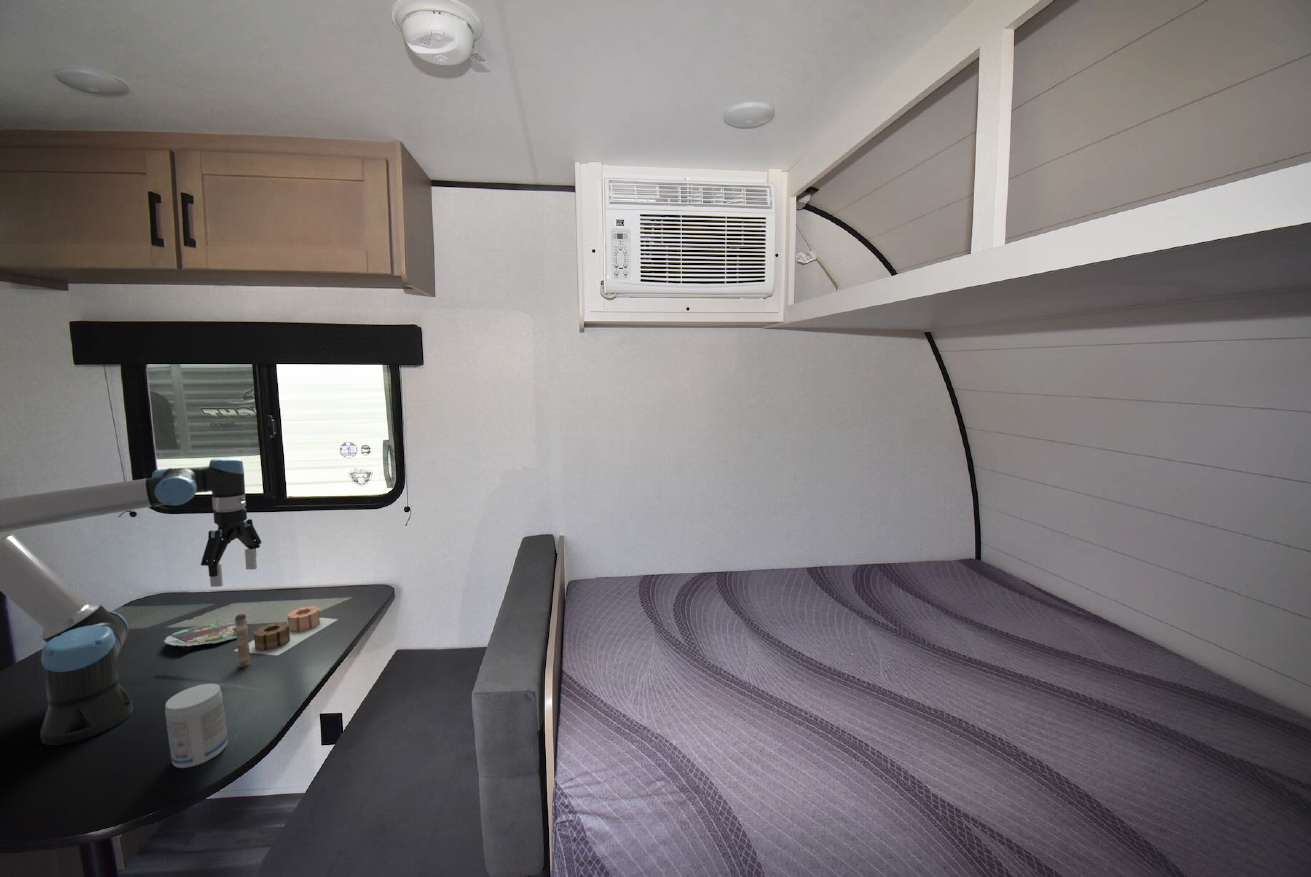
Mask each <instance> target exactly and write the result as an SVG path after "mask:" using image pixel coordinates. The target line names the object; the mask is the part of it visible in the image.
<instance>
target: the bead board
mask: <svg viewBox="0 0 1311 877" xmlns="http://www.w3.org/2000/svg"><path fill="white" fill-rule="evenodd" d="M319 619H320V624H319V625H317V626H316V627H314V628H309V630H305V631H301V632H300V631H298V632H291V631H289V634H290V641H288V643H286V644H285V645H283V646H281V647H280V646H278V648H275V649H271V650H267V649H266V650H265V651H260V650H256V649H255V640H254V639H253V640H251V641H250V642H249V652H250V654H259V655H268V656H280V655H281V654H283V653H285V652H286V651H288V650H289V649H291V648H293V647H294V646H296V645H298V644H299V643H301V642H303V641H305V640H307V639H308V638H309V637H311V636H313V635H315V634H316V633H318V632H319V631H321V630H323V629H325V628H326V627H328V626H330V625H331V624H333V623H335V622H337V621H338V620H339V619H338V618H330V617H329V618H327V617H319ZM286 623H288V621H286ZM233 652H238V648H236V649H234V650H233Z"/></svg>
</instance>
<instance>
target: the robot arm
mask: <svg viewBox="0 0 1311 877" xmlns="http://www.w3.org/2000/svg"><path fill="white" fill-rule="evenodd" d="M244 471H245V469H244V463H243V460H242V459H241V458H239V457H221V458H213V459H210V460H209V464H208V465H206V466H205V465H204V466H196V467H195V466H194V467H178V468H177V467H175V468H172V467H168V468H163V469H156V470H154V471H153V472H152V473H151V474H152V475H151V477H150V478H143V479H141V478H140V479H135V480H134V479H133V480H127V481H120V482H112V483H106V484H105V483H104V484H98V485H91V486H85V487H76V488H75V487H74V488H69V489H62V490H56V491H55V490H54V491H48V492H47V491H46V492H43V493H42V492H41V493H39V492H38V493H33V494H32V493H31V494H26V495H20V496H13V497H5V498H0V592H1V593H2V594H3V595H5V597H7V598H8V599H9V600H10V601H11V602H13V604H15V605H16V606H17V607H19V609H20V610H22V611H23V612H24V613H25V614H27V616H29V617H30V618H31V619H32V620H34V621H35V622H36V623H37V624H38V625H39V626H41V627H42V628H43V630H42V633H41V637H40V638H41V639H42V641H44V642H45V644H44V645H43V647H42V651H41V657H40V662H41V666H42V668H43V669H42V670H43V676H44V685H45V690H46V698H47V705H48V706H47V707H48V708H47V710H46V712H45V717H44V719H43V722H42V725H41V728H40V732H39V734H40V741H41V744H43V745H46V746H61V745H62V746H63V745H68V744H73V743H76V742H80V741H83V740H86V739H89V738H92V737H94V736H97V735H99V734H102V733H104V732H106V731H108V730H110V729H112V728H114V727H115V726H116V727H117V726H118V725H119V724H120V723H122V722H123V721H125V720H127V718H128V717H130V716H131V714H132V713H133V710H134V706H133V701H132V699H131V697H130V696H129V695H128V693H127V692H126V691H125V689H124V688H123V687H122V685H121V683H120V675H119V668H118V667H119V666H118V656H119V653H120V652H121V649H122V647H123V645H124V643H125V642H126V641H127V637H128V634H129V626H128V623H127V620H126V619H125V617H124V616H123V615H121V614H119V613H118V612H115V611H112V610H107V609H106V608H105V607H104V606H103V605H102V604H101V603H99V602H97V603H95V602H94V603H93V602H91V603H89V602H87V601H86V600H85V599H84V598H82V597H81V596H80V594H78V593H77V592H76V591H75V590H74V589H73V588H72V587H71V586H70V585H68V584H67V583H66V581H64V580H63V579H62V578H61V577H60V576H59V575H57V573H55V571H54V570H52V568H50V567H49V566H48V565H47V564H46V563H44V561H43V560H41V558H39V556H37V554H35V553H34V552H33V551H32V550H31V549H29V547H27V546H26V545H25V543H23V542H22V541H21V540H20V539H19V538H18V537H17V536H16V535H14V533H13V532H14V530H15V531H16V530H21V529H26V528H27V529H28V528H34V527H38V526H39V527H40V526H45V525H51V524H56V523H57V524H58V523H63V522H68V521H70V522H71V521H75V520H81V519H87V518H91V517H92V518H93V517H97V516H98V517H99V516H105V515H110V514H116V513H123V512H127V511H129V512H130V511H134V510H140V509H145V508H146V509H147V508H151V507H159V506H165V505H167V506H180V505H184V504H186V503H188V502H189V501H190V500H192V499H193V498H194V496H195V495H196V494H198V493H208V492H211V499H212V501H211V502H212V510H213V523H214V524H215V525H217V530H208V534H207V535H208V538H207V543H206V546H205V547H204V548H205V549H204V552H203V555H202V558H201V562H200V566H202V567H203V566H205V567H207V568H208V576H209V582H210V587H212V588H213V587H214V588H215V587H217V588H218V587H219V588H220V587H223V586H224V585H223V584H224V583H223V571H222V564H221V563H220V562H221V559H222V557H223V555H224V553H225V551H226V549H227V547H228V545H229V544H231V543H232V541H234V540H236V539H238V540H239V542H241V543H242V545H244V546H245V547H246V549H244V556H245V569H246V570H257V568H258V566H257V549H259V548H260V547H261V544H262V540H261V539H260V537H259V535H258V532H257V530H256V529H255V526H254V524H253V523H254V522H253V519H252V518H249V519H248V514H247V508H246V506H247V502H246V486H245V485H246V484H245V483H246V482H245V472H244Z"/></svg>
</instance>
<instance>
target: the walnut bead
mask: <svg viewBox="0 0 1311 877" xmlns="http://www.w3.org/2000/svg"><path fill="white" fill-rule="evenodd" d="M253 633H254V634H253V637H254V639H253V640H255V649H256V650H260V651H265V650H266V649H267V650H271V649H275V648H278V646H280V647H281V646H283V645H285V644H286V643H288V641H290V634H289V623H287V621H286V622H284V621H280V622H278V621H277V622H273V623H268V624H266V625H262V626H259V628H256V629H255V630H254V632H253Z"/></svg>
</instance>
